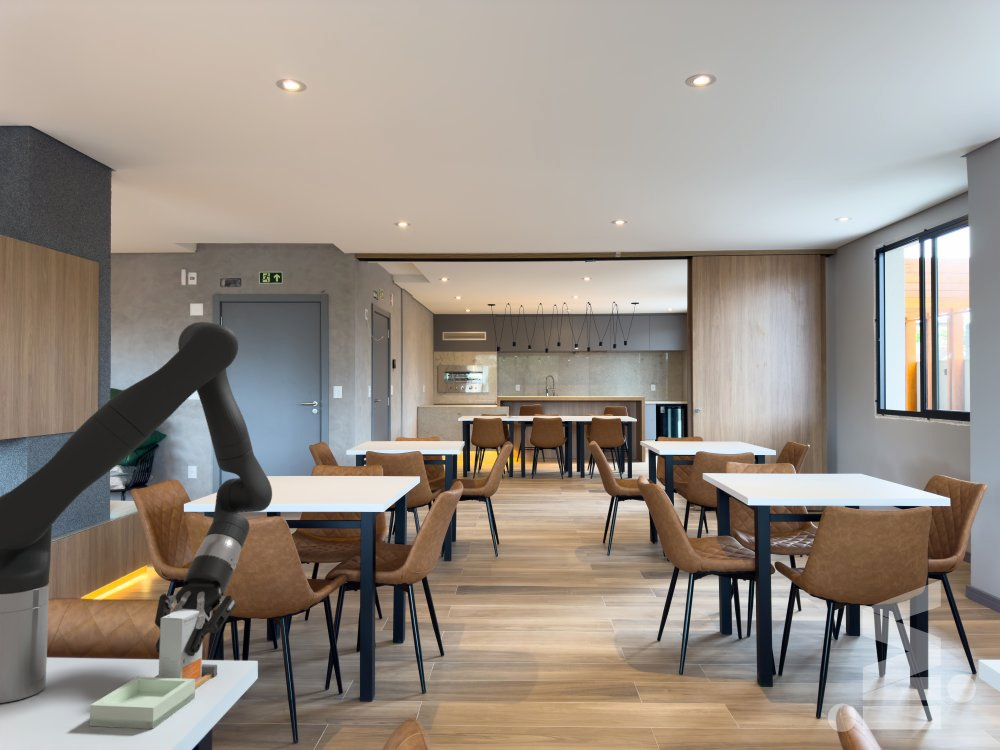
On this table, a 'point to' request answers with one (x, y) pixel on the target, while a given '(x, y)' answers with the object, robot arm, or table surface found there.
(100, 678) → the table surface
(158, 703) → the parts tray
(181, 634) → the skincare box
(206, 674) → the grey shallow square tray
